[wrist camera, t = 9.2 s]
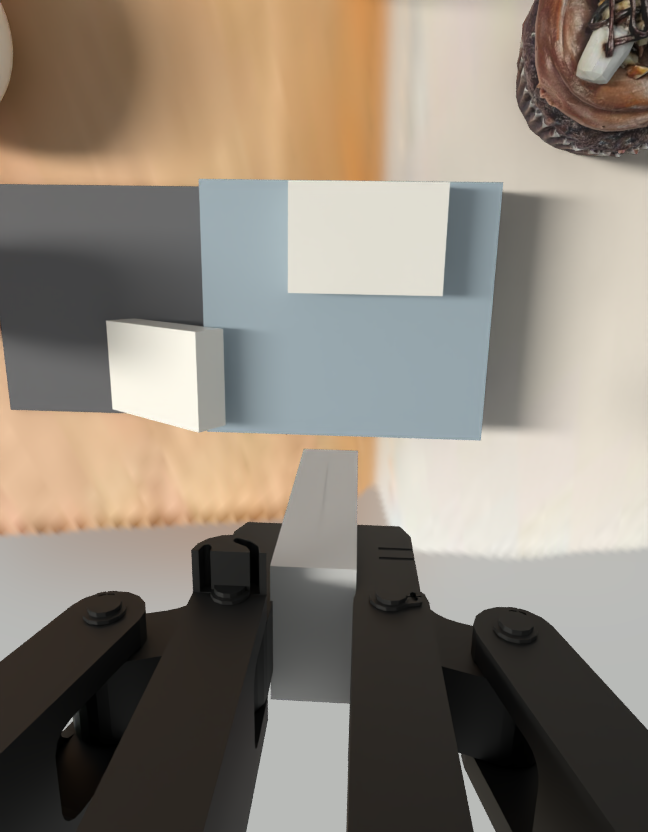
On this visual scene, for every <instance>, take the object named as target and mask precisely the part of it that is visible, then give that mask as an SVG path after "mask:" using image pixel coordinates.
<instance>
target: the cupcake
mask: <svg viewBox="0 0 648 832" xmlns="http://www.w3.org/2000/svg"><path fill="white" fill-rule="evenodd" d="M517 67H518V73H517V80H516V98H517V102H518V106H519V109H520V110H521V112H522V114H523V116H524V118H525V119H526V121H527V124H528V126H529V128H530V129H531V130H532V131H533V132H534V133H535V134H536V135H538V136H539V137H540V138H541V139H542V140H543V141H544V142H546V143H548V144H549V145H552V146H553V147H555V148H558V149H562V150H566V151H568V152H570V153H574V154H577V155H594V156H607V155H609V156H614V157H620V156H621V155H622V154H623V153H631V154H637V153H639V149H648V0H535V1H534V3H533V5H532V7H531V9H530V12H529V14H528V16H527V17H526V19H525V21H524V23H523V27H522V38H521V42H520V51H519V58H518V62H517Z"/></svg>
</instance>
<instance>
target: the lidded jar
mask: <svg viewBox="0 0 648 832" xmlns="http://www.w3.org/2000/svg"><path fill="white" fill-rule="evenodd" d="M12 65H13V45H12V36H11V31H10V27H9V22H8V19H7V17H6V14H5V11H4V9H3V6H2V4H1V1H0V102H1V100H2V98H3V96H4V94H5V92H6V90H7V87H8V84H9V82H10V77H11V72H12Z"/></svg>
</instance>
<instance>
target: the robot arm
mask: <svg viewBox="0 0 648 832" xmlns="http://www.w3.org/2000/svg"><path fill="white" fill-rule="evenodd" d="M357 482H358V451H349V450H320V449H304V450H303V454H302V457H301V461H300V464H299V468H298V471H297V474H296V478H295V481H294V485H293V488H292V492H291V495H290V499H289V502H288V506H287V509H286V512H285V516H284V519H283V523H257V522H247V523H246V524H245V525H243V526H242V527H240V528H239V529H238V530H236V531H235V532H234V534H233V535H222V536H218V537H213V538H209V539H207V540H204V541H202V542H200V543H198V544H197V545H196V546H195V547H194V548H193V549H192V550H191V553H192V576H193V594H192V596H191V598H190V600H189V602H188V604H187V605H186V606H183V607H181V608H178V609H172V610H168V611H161V612H154V613H147V614H146V610H145V602H144V601H143V600H142V599H141V598H140V597H139V596H137V595H134V594H132V593H129V592H118V591H108V592H101V593H97V594H95V595H93V596H89V597H86V598H84V599H82V600H80V601H79V602H77V603H75V604H74V605H72V606H71V607H70V608H68V609H67V610H66V611H64V612H63V613H62V614H60V615H59V616H58V617H57V618H55V619H54V620H53V621H51V622H50V623H49V624H48V625H47V626H45V627H44V628H43V629H41V630H40V631H39V632H37V633H36V634H35V635H34V636H32V637H31V638H30V639H29V640H27V641H26V642H25V643H23V645H21V646H20V647H18V648H17V649H16V650H15V651H14V652H12V653H11V654H10V655H8V656H7V657H6V658H4V659H3V660H2V661H1V662H0V832H246V829H247V824H248V819H249V814H250V809H251V804H252V799H253V793H254V788H255V783H256V778H257V773H258V768H259V763H260V757H261V752H262V747H263V742H264V737H265V732H266V727H267V721H268V700H267V699H268V691H269V687H270V682H271V699H277V700H294V701H295V700H296V701H312V702H330V703H349V704H350V719H349V748H348V792H347V793H348V794H347V831H346V832H474V831H473V827H472V821H471V816H470V811H469V806H468V801H467V795H466V790H465V786H464V780H463V775H462V770H461V765H460V760H459V754H458V753H461V754H462V755H461V757H462V761H463V765H464V768H465V770H466V772H467V774H468V776H469V778H470V780H471V783H472V784H473V787H474V788H475V791H476V793H477V795H478V797H479V799H480V801H481V802H482V805H483V807H484V809H485V811H486V813H487V815H488V817H489V819H490V821H491V823H492V825H493V827H494V829H495V831H496V832H648V730H647V729H646V728H645V726H644V725H643V724H642V723H641V722H640V721H639V720H638V719H637V718H636V717H635V715H634V714H632V712H631V711H630V710H629V709H628V708H627V707H626V706H625V705H624V704H623V702H622V701H621V700H620V699H619V698H618V697H617V696H616V695H615V694H614V693H613V692H612V690H611V689H610V688H609V687H608V686H607V685H606V684H605V683H604V682H603V681H602V680H601V678H600V677H599V676H598V675H597V674H596V673H595V672H594V671H593V670H592V669H591V668H590V666H589V665H588V664H587V663H586V662H585V661H584V660H583V659H582V658H581V657H580V656H579V654H577V652H576V651H575V650H574V649H573V648H572V647H571V646H570V645H569V644H568V642H567V641H566V640H565V639H564V638H563V637H562V636H561V635H560V634H559V633H558V632H557V631H556V629H555V628H554V627H553V626H552V625H550V624H549V623H548V622H547V621H545V620H544V619H543V618H542V617H539V616H537V615H535V614H533V613H531V612H528V611H526V610H522V609H517V608H513V607H496V608H491V609H487V610H484V611H482V612H481V613H480V614H478V615H477V616H476V618H475V621H474V624H473V626H470V625H466V624H462V623H458V622H455V621H452V620H449V619H446V618H443V617H442V616H440V615H438V614H436V613H434V612H433V611H432V610H430V605H429V602H428V600H427V598H426V596H425V594H423V593H422V592H420V587H419V581H418V576H417V570H416V565H415V561H414V554H413V548H412V543H411V537H410V536H409V535H408V534H407V533H406V532H405V531H404V530H403V529H402V528H401V527H397V526H372V525H357ZM72 717H73V722H72V723H71V724H70V725H69V726H68V727H67V728H66V729H65V730H64V731H62V730H63V729H64V727H65V726H66V724H67V723H68V722H69V720H70V719H71V718H72Z"/></svg>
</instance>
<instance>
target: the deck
mask: <svg viewBox="0 0 648 832" xmlns="http://www.w3.org/2000/svg"><path fill="white" fill-rule="evenodd" d="M299 181H332V180H299ZM387 182H420V181H387ZM502 189H503V182H450V191H449V207H448V222H447V237H446V252H445V267H444V283H443V296H410V295H361V294H313V293H288V180H244V179H199V201H200V231H201V261H202V291H203V321H204V327H212V328H220V329H223V342H224V381H225V420H226V425H224V426H221V427H217V428H214V429H210V430H207V431H208V432H238V433H269V434H300V435H331V436H362V437H393V438H424V439H455V440H481V431H482V420H483V408H484V397H485V385H486V374H487V362H488V351H489V339H490V328H491V316H492V304H493V293H494V281H495V270H496V258H497V247H498V235H499V224H500V212H501V201H502Z"/></svg>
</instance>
